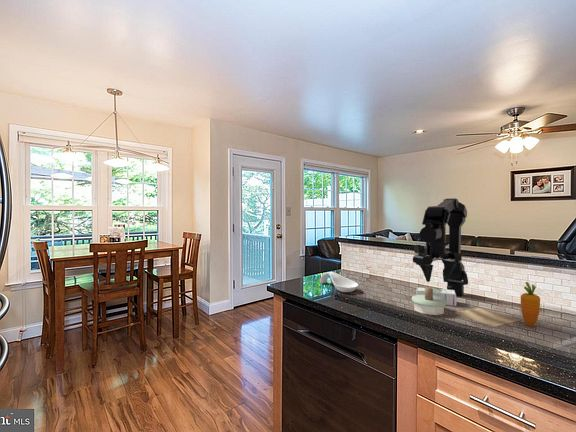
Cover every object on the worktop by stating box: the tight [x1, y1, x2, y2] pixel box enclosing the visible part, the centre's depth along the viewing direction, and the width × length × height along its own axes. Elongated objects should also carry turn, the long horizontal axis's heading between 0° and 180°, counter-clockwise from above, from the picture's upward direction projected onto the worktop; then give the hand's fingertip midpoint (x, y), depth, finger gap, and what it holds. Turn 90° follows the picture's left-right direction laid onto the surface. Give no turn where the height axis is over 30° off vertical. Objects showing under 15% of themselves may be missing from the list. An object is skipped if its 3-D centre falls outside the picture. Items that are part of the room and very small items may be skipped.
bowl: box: [413, 302, 445, 316], centre depth 111 cm, size 10×10×4 cm
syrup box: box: [415, 286, 458, 307], centre depth 120 cm, size 6×6×14 cm
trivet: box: [454, 306, 521, 328], centre depth 104 cm, size 14×14×1 cm
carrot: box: [520, 281, 541, 328], centre depth 95 cm, size 5×5×15 cm
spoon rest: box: [319, 271, 359, 293], centre depth 147 cm, size 24×12×7 cm, turn 33°
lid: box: [411, 287, 448, 308], centre depth 111 cm, size 12×12×5 cm
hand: (437, 280), depth 112 cm, fingers open, 9 cm apart
